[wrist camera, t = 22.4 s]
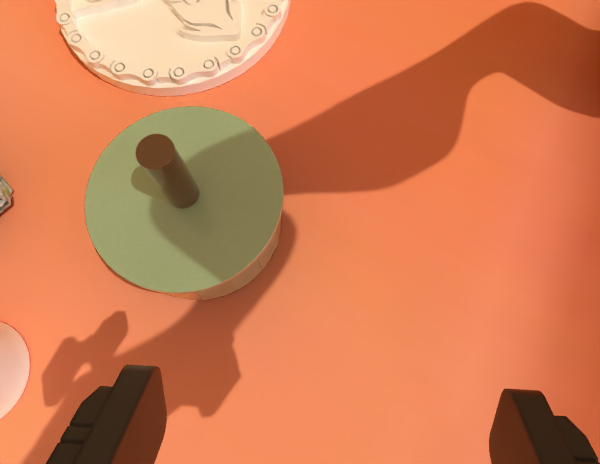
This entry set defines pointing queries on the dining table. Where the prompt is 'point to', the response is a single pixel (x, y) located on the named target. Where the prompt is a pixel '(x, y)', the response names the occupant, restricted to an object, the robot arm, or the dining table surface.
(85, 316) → the dining table surface
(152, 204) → the lid
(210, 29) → the medallion
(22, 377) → the mug
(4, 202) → the towel
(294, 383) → the dining table surface
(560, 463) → the robot arm
